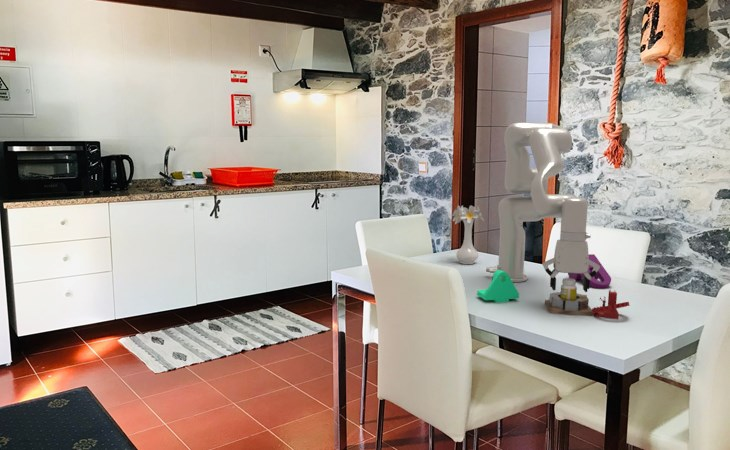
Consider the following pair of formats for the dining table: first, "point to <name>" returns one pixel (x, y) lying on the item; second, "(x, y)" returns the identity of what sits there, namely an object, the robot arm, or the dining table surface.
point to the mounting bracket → (600, 275)
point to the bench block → (559, 311)
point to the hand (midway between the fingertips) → (569, 290)
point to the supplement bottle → (568, 289)
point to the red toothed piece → (609, 307)
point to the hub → (569, 302)
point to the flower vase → (467, 233)
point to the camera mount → (499, 288)
